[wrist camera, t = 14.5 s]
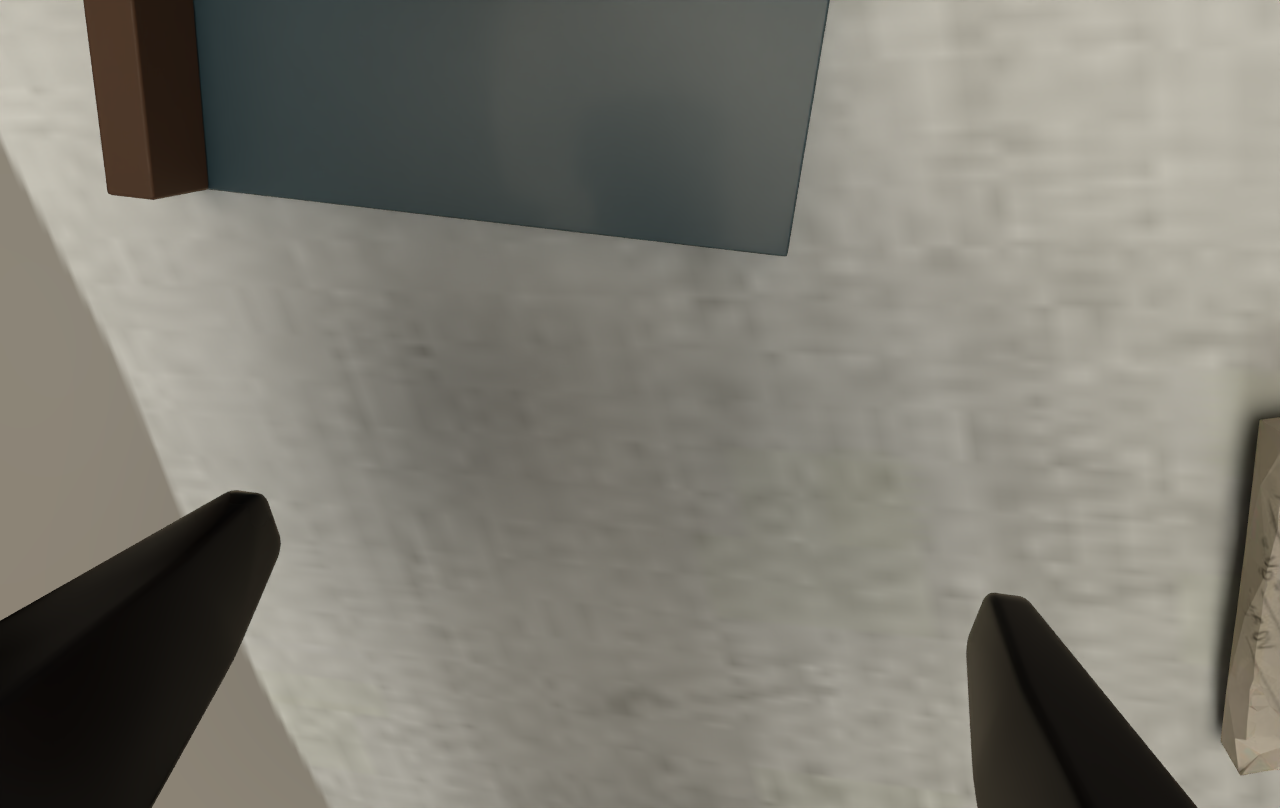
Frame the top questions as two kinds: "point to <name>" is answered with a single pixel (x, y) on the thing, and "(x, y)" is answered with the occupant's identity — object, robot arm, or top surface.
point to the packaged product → (1258, 623)
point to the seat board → (471, 108)
